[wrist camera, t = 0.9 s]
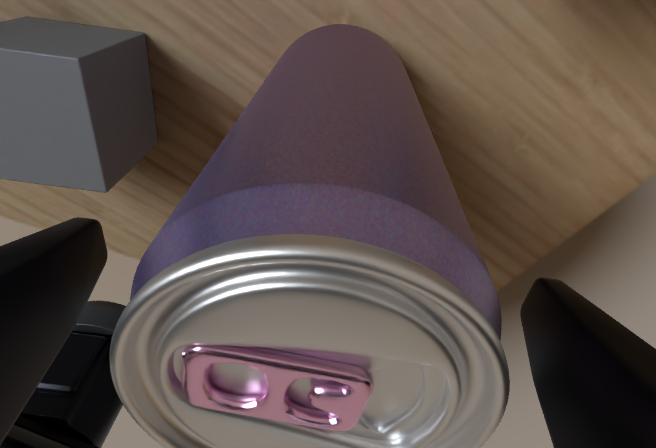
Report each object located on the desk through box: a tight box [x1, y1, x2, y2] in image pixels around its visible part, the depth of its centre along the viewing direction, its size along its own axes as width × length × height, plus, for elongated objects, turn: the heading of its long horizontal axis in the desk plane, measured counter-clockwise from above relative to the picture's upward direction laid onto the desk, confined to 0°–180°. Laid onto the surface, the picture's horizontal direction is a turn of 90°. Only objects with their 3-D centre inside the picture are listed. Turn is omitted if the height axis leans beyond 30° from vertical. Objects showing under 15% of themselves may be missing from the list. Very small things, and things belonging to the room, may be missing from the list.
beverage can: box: [109, 24, 510, 448], centre depth 12 cm, size 6×6×15 cm
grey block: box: [0, 17, 158, 193], centre depth 17 cm, size 5×5×5 cm
